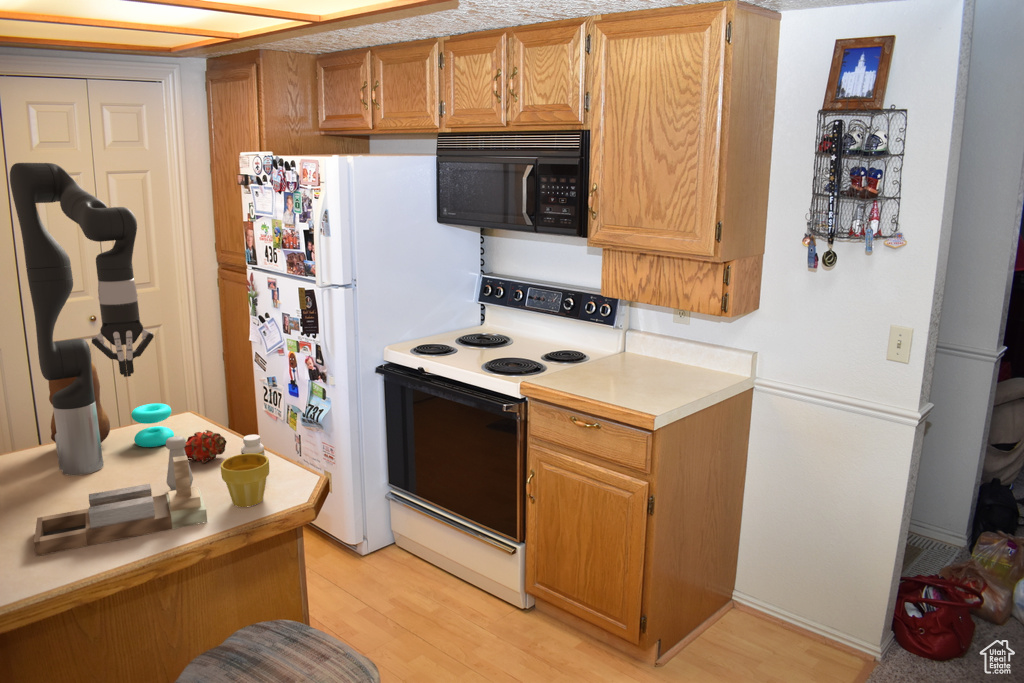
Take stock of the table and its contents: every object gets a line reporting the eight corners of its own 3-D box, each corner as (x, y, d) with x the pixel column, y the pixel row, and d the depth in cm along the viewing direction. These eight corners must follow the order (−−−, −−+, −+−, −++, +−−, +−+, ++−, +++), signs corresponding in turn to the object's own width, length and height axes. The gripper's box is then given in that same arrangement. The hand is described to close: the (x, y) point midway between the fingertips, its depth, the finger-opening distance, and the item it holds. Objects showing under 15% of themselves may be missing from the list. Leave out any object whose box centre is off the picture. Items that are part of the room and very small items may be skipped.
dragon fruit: (232, 462, 206) (184, 476, 201) (225, 436, 210) (178, 450, 206) (228, 445, 199) (179, 459, 195) (221, 419, 204) (172, 432, 199)
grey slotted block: (91, 529, 160) (88, 513, 159) (90, 509, 169) (88, 494, 168) (155, 517, 165) (153, 501, 164) (151, 498, 174) (150, 483, 173)
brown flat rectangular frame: (36, 556, 155) (33, 542, 154) (39, 530, 165) (37, 517, 165) (207, 521, 170) (206, 509, 169) (200, 500, 180) (199, 488, 179)
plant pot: (252, 514, 173) (248, 473, 171) (214, 507, 177) (210, 466, 174) (280, 495, 183) (278, 456, 180) (244, 489, 186) (241, 450, 184)
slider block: (171, 511, 168) (166, 465, 165) (169, 500, 173) (164, 456, 171) (200, 506, 170) (196, 461, 168) (198, 495, 176) (193, 451, 173)
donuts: (156, 399, 220) (178, 406, 215) (160, 433, 222) (182, 440, 217) (123, 409, 212) (144, 416, 207) (127, 444, 214) (148, 451, 209)
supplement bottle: (238, 476, 193) (235, 439, 191) (253, 468, 198) (250, 432, 196) (256, 480, 191) (253, 442, 189) (270, 471, 196) (267, 435, 194)
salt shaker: (184, 495, 182) (178, 443, 179) (162, 493, 184) (156, 441, 180) (199, 485, 188) (193, 434, 185) (177, 483, 189) (171, 432, 186)
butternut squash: (98, 435, 220) (87, 349, 214) (120, 447, 212) (109, 357, 206) (45, 449, 210) (32, 359, 204) (66, 462, 202) (53, 368, 196)
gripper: (84, 305, 165) (94, 384, 169) (152, 300, 171) (160, 376, 175) (84, 299, 172) (94, 375, 176) (150, 294, 178) (158, 368, 182)
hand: (127, 375), depth 176 cm, fingers closed
